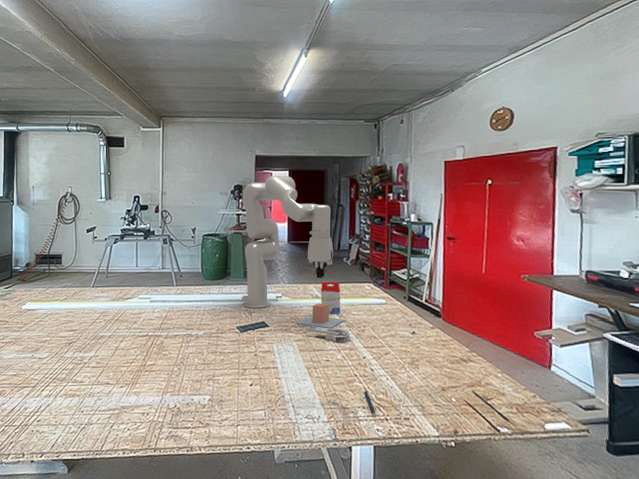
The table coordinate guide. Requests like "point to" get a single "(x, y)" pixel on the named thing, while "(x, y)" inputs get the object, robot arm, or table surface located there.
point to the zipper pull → (332, 334)
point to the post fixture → (328, 324)
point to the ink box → (331, 296)
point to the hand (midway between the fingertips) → (320, 277)
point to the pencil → (370, 403)
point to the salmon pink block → (320, 313)
